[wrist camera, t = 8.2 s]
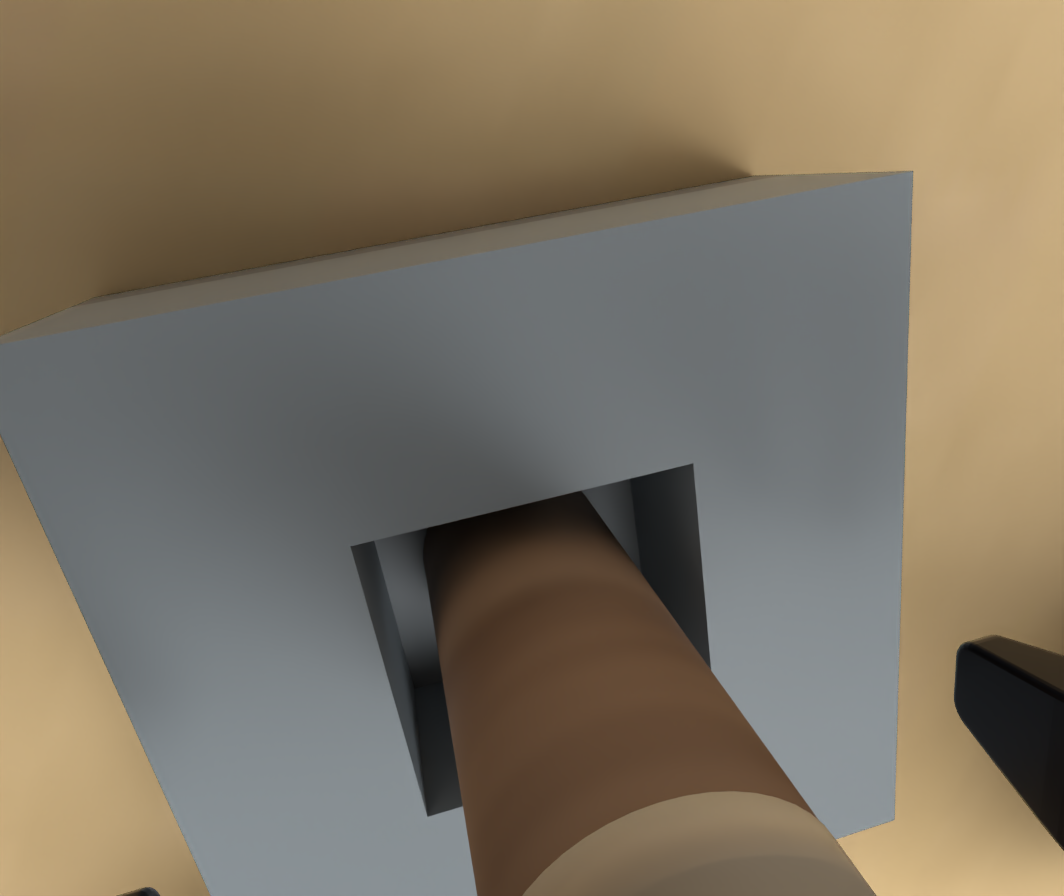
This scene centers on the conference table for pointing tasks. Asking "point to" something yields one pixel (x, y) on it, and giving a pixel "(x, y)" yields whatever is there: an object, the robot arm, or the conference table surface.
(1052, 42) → the conference table surface
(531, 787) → the pin
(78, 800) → the conference table surface
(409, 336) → the socket block
